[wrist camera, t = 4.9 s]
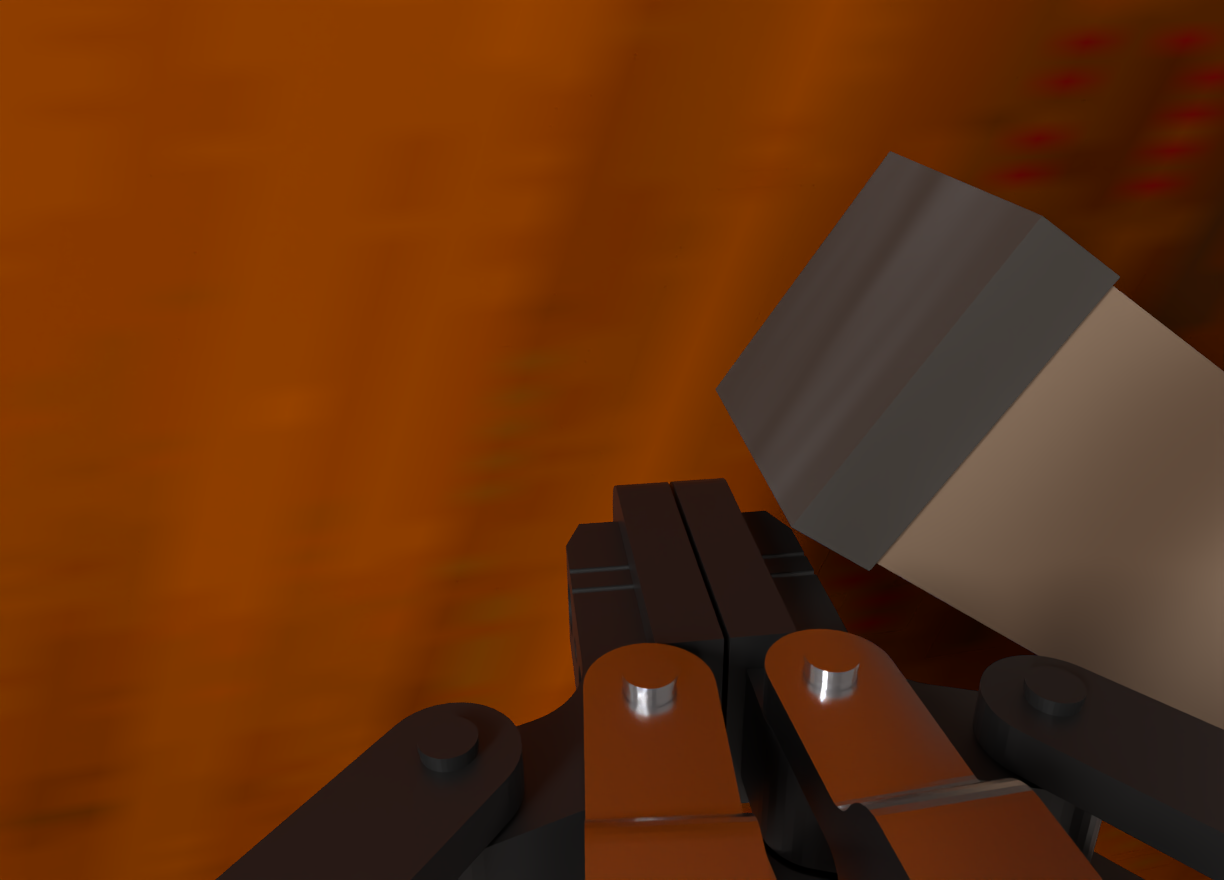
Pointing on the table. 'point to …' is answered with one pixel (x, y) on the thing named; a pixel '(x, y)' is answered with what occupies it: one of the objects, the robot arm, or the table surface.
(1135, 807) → the robot arm
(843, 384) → the hinged leg
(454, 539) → the table surface
